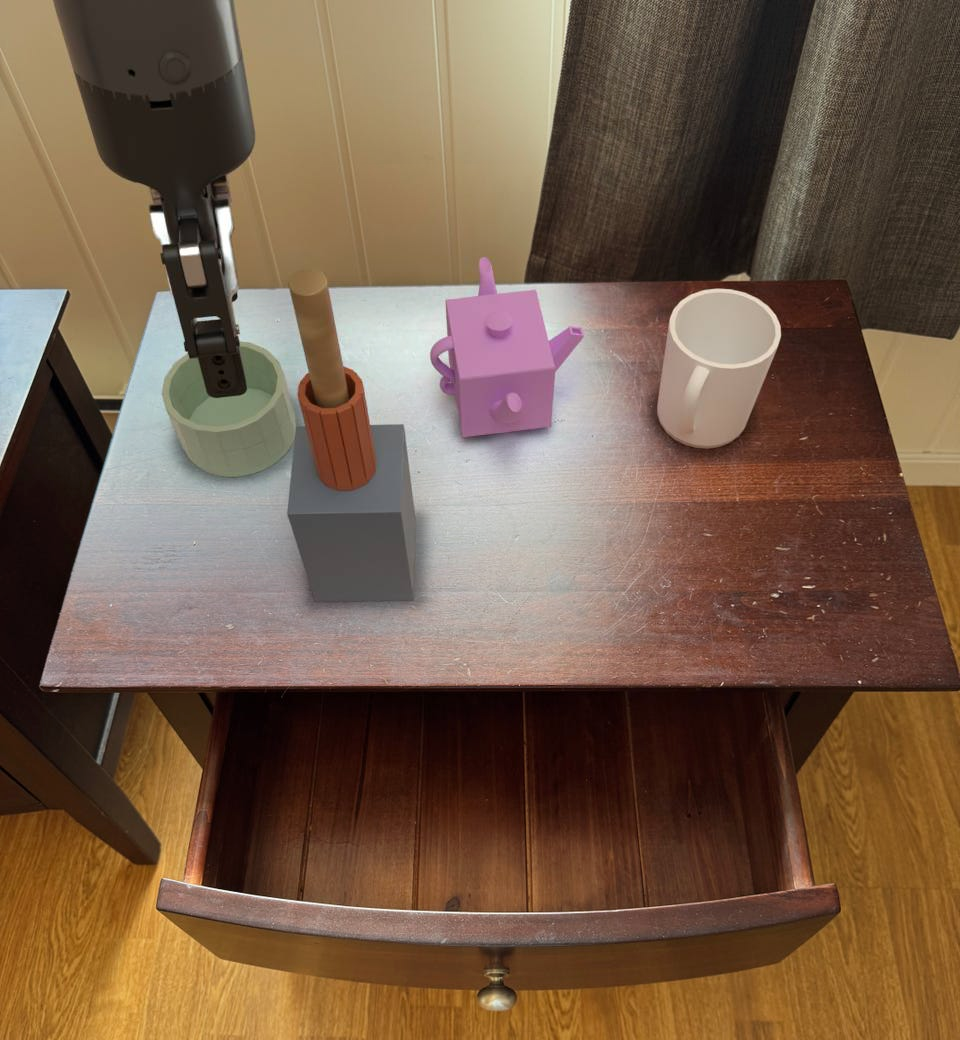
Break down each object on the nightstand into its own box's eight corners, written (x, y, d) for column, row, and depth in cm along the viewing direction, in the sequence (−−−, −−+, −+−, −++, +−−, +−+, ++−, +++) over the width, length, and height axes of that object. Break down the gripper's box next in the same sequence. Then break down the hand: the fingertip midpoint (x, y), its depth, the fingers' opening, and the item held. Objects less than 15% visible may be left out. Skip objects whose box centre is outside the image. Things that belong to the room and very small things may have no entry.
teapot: (596, 469, 84) (608, 390, 76) (446, 488, 83) (441, 410, 75) (559, 322, 93) (565, 236, 84) (423, 338, 92) (415, 253, 83)
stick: (329, 474, 68) (286, 295, 54) (331, 450, 69) (289, 268, 55) (360, 474, 68) (325, 294, 54) (361, 449, 69) (328, 267, 55)
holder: (314, 602, 78) (262, 438, 61) (321, 521, 82) (273, 344, 64) (413, 600, 78) (390, 435, 60) (415, 519, 82) (393, 342, 64)
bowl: (175, 479, 84) (153, 433, 79) (190, 389, 89) (171, 341, 84) (291, 476, 84) (278, 430, 79) (300, 387, 89) (288, 338, 84)
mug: (674, 365, 90) (694, 275, 81) (765, 399, 88) (796, 310, 79) (625, 447, 85) (641, 361, 76) (721, 484, 83) (748, 401, 74)
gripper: (74, -16, 47) (156, 279, 60) (62, 133, 39) (160, 436, 52) (231, -25, 48) (278, 267, 61) (251, 119, 40) (300, 419, 53)
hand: (224, 344), depth 57 cm, fingers open, 8 cm apart
